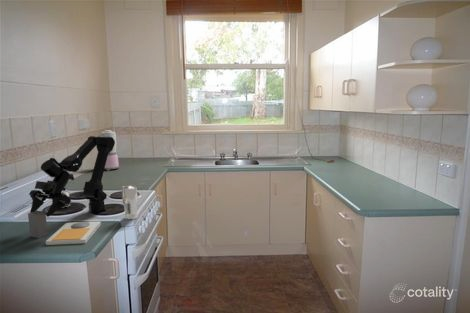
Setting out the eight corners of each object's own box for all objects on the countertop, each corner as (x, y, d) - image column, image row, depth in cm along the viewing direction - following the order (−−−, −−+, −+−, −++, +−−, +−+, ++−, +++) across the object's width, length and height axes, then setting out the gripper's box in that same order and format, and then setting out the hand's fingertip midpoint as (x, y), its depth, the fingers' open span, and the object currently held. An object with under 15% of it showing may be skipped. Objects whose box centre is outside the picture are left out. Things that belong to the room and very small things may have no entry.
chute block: (39, 233, 142) (36, 210, 140) (47, 234, 140) (45, 211, 139) (30, 236, 138) (27, 213, 137) (39, 238, 137) (36, 215, 135)
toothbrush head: (70, 189, 197) (69, 194, 174) (71, 200, 197) (71, 207, 175) (60, 191, 195) (58, 195, 172) (61, 202, 195) (59, 208, 172)
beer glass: (129, 214, 164) (127, 184, 162) (141, 215, 162) (139, 185, 160) (120, 219, 158) (118, 188, 155) (133, 220, 156) (131, 189, 153)
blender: (113, 167, 282) (110, 129, 276) (122, 168, 275) (119, 130, 269) (96, 170, 269) (92, 131, 263) (105, 172, 262) (102, 131, 256)
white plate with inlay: (66, 225, 150) (66, 222, 150) (101, 224, 151) (100, 220, 151) (46, 244, 130) (45, 240, 130) (85, 243, 131) (85, 238, 131)
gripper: (30, 171, 144) (8, 203, 136) (62, 174, 138) (41, 208, 129) (48, 185, 153) (28, 215, 144) (79, 188, 146) (60, 220, 138)
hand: (39, 214), depth 139 cm, fingers open, 9 cm apart
